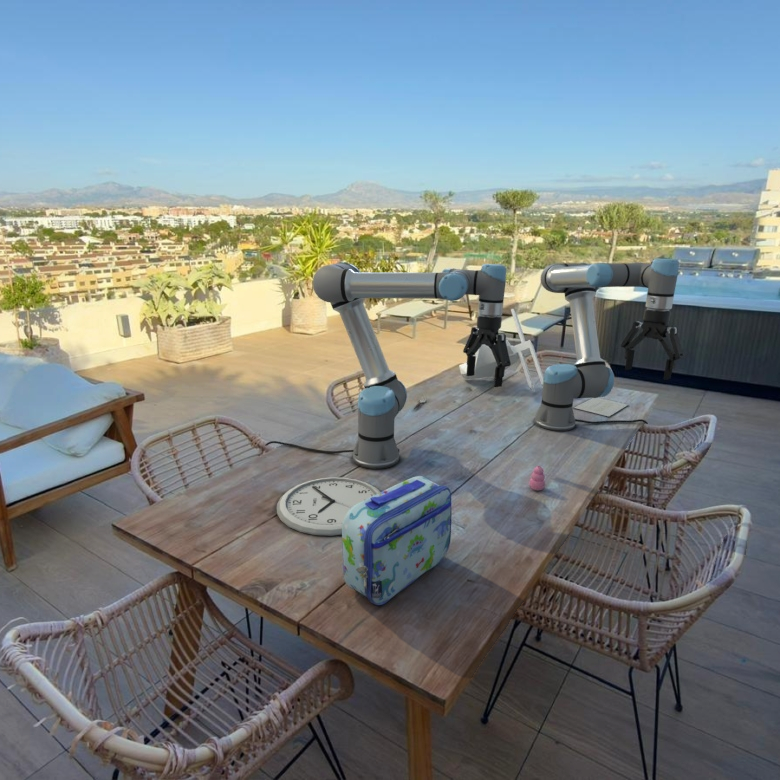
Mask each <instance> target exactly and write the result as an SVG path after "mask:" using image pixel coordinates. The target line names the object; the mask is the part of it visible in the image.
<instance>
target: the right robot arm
mask: <svg viewBox="0 0 780 780" xmlns="http://www.w3.org/2000/svg"><path fill="white" fill-rule="evenodd" d="M679 268H680V261H679V260H678V259H676V258H654V259H653V260H652V263H645V262H640V261H639V262H626V263H625V262H620V263H618V262H617V263H616V262H607V263H606V262H598V263H587V262H557V263H552V264H549V265H548V266H546V267H545V268H544V269H543V270H542V272H541V274H540V284H541V286H542V288H544V289H545V290H546V291H548V292H550V293H554V294H563V295H564V299H565V301H567V302H568V303H569V308H570V316H571V324H572V331H573V333H572V334H573V337H574V338H573V340H574V349H575V355H576V362H575V363H574V364H571V363H570V364H569V363H565V364H564V363H558V364H557V363H556V364H553V365H549V366H548V367H547V368H546V369H545V371H544V373H543V376H544V378H543V381H544V382H543V386H542V394H541V402H540V405H539V407H538V410H537V411H536V413H535V416H534V424H535V425H536V426H537V427H539V428H542V429H544V430H549V431H556V432H567V431H572V430H574V429H575V428H576V422H578V423H585V424H591V425H593V424H595V425H597V424H609V423H610V424H613V423H614V424H615V423H616V424H617V423H620V424H621V423H627V424H628V423H629V424H630V423H639V422H643V423H645V425H648V424H649V423H648V421H646V420H645V419H639V418H638V419H632V420H626V419H625V420H624V419H623V420H621V419H620V420H599V421H597V420H596V421H588V420H584V419H576V418H575V417H576V416H575V413H574V407H573V405H574V400H575V399H576V400H577V399H592V398H605V397H606V396H608V395H609V394H610V393H611V392H612V390H613V388H614V385H615V374H614V372H613V370H612V369H611V368H610V367H608V366H606V361H605V360H604V359H602V358H601V353H600V346H599V345H600V344H599V338H598V330H597V322H596V315H595V308H594V307H595V306H594V300H593V299H594V298H595V297H596V295H597V291H599V289H600V288H636V287H637V288H645V289H647V293H646V301H645V309H644V311H643V317H642V319H643V322H642V321H640V320H636V321H633V323H632V327H631V329H630V330H629V332H628V333H627V334H626V336H625V338H624V339H623V341H622V342H621V344H620V347H621V348H623V349H624V350H625V353H624V360H625V366H624V370H625V371H630V370H632V369H633V364H634V357H635V347H637V345H638V344H640V343H641V342H642V341H643V340H644V339H645V338H647V339H653V340H658V341H659V343H660V344H661V346H662V348H663V349H664V351H665V353H666V355H667V356H668V358H667V359H666V362H665V368H664V374H663V380H664V381H667V380H671V378H672V374H673V373H672V372H673V371H674V370H675V369H676V367H677V361H678V360H681V359H684V358H685V354H684V351H683V348H682V345H681V341H680V337H679V328H678V327H677V326H675V327H669V324H670V320H671V315H672V313H671V312H672V311H671V310H672V309H673V304H674V297H675V292H676V287H677V282H678V276H679V270H680V269H679ZM640 329H642V331H641V332H640V333H639V334H638V336H636V335H637V333H638V332H639V331H640ZM667 333H668V334H667ZM668 335H669V336H668ZM635 336H636V337H635ZM669 339H670V340H669Z"/></svg>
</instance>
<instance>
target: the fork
mask: <svg viewBox="0 0 780 780" xmlns="http://www.w3.org/2000/svg"><path fill="white" fill-rule="evenodd" d="M427 398H428V396H427V395H424V394H422V395H421V398H420V400H419V402H418V403H417V404H416V405H415V406H414V408H413V410H416V409H417V408H419V407H420V405H422V403H426V402H427Z"/></svg>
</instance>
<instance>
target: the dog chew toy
mask: <svg viewBox="0 0 780 780" xmlns="http://www.w3.org/2000/svg"><path fill="white" fill-rule="evenodd" d="M544 471H545V470H544V468H543V467H541V466H540V465H538V466H535V467H534V468H533V472H531V475H530V478H529V482H528V483H529V487H530V489H532V490H533V491H536V492H537V491H538V492H539V491H542V490H543V489H544V488H545V486H546V481H545V478H546V476H545V472H544Z"/></svg>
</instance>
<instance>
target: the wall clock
mask: <svg viewBox="0 0 780 780" xmlns="http://www.w3.org/2000/svg"><path fill="white" fill-rule="evenodd" d="M380 492H382V491H381V490H380V489H379V488H377V487H376V486H374V485H372V484H371V483H369V482H365V481H362V480H359V479H355V478H349V477H338V476H337V477H335V476H333V477H332V476H331V477H322V478H317V479H312V480H307V481H305V482H302V483H299V484H297V485H295V486H293V487H292V488H290V489H288V490H287V491H286V492H285V493H284V494H283V495H281V496H280V498H279V499H278V502H277V503H276V515H277V517H278V518H279V520H280V521H281V522H282V523H283V524H285V525H286V526H287V527H288V528H290V529H293V530H295V531H297V532H299V533H303V534H308V535H312V536H327V537H328V536H329V537H331V536H332V537H333V536H342V525H343V521H344V518H345V516H346V514H347V512H348V511H349V510H350V509H351V508H352V507H353V506H354V505H356V504H358V503H360V502H362V501H364V500H366V499H368V498H370V497H372V496H374V495H376V494H378V493H380Z"/></svg>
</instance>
